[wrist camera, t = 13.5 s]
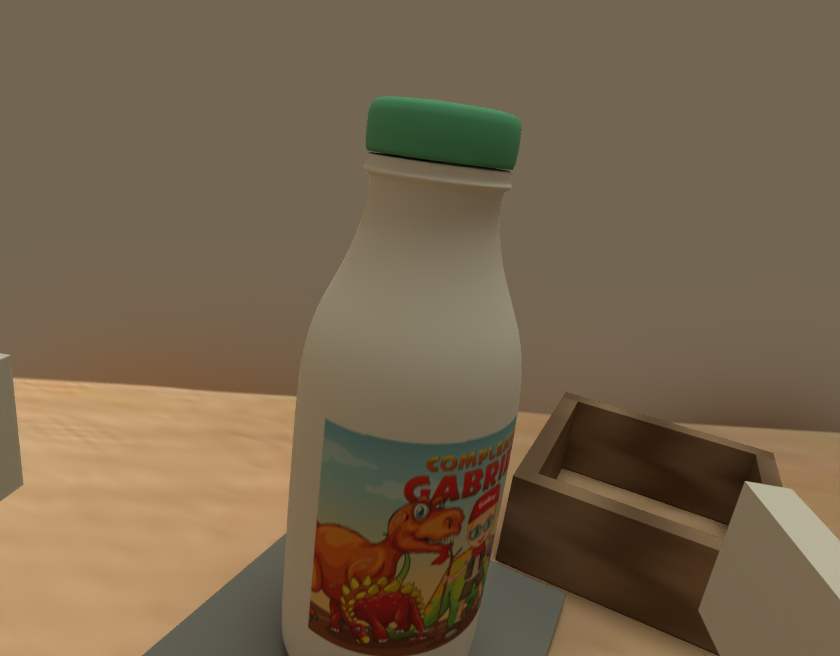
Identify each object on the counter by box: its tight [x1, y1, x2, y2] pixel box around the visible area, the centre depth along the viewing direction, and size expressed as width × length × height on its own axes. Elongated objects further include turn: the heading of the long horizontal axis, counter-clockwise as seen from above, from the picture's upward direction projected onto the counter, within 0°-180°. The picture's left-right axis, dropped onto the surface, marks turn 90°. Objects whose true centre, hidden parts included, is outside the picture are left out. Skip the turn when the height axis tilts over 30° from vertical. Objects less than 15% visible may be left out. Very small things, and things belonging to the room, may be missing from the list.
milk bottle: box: [281, 97, 522, 656], centre depth 20 cm, size 8×8×20 cm
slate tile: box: [142, 534, 566, 656], centre depth 23 cm, size 13×13×1 cm
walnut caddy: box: [496, 392, 782, 655], centre depth 31 cm, size 12×12×5 cm
